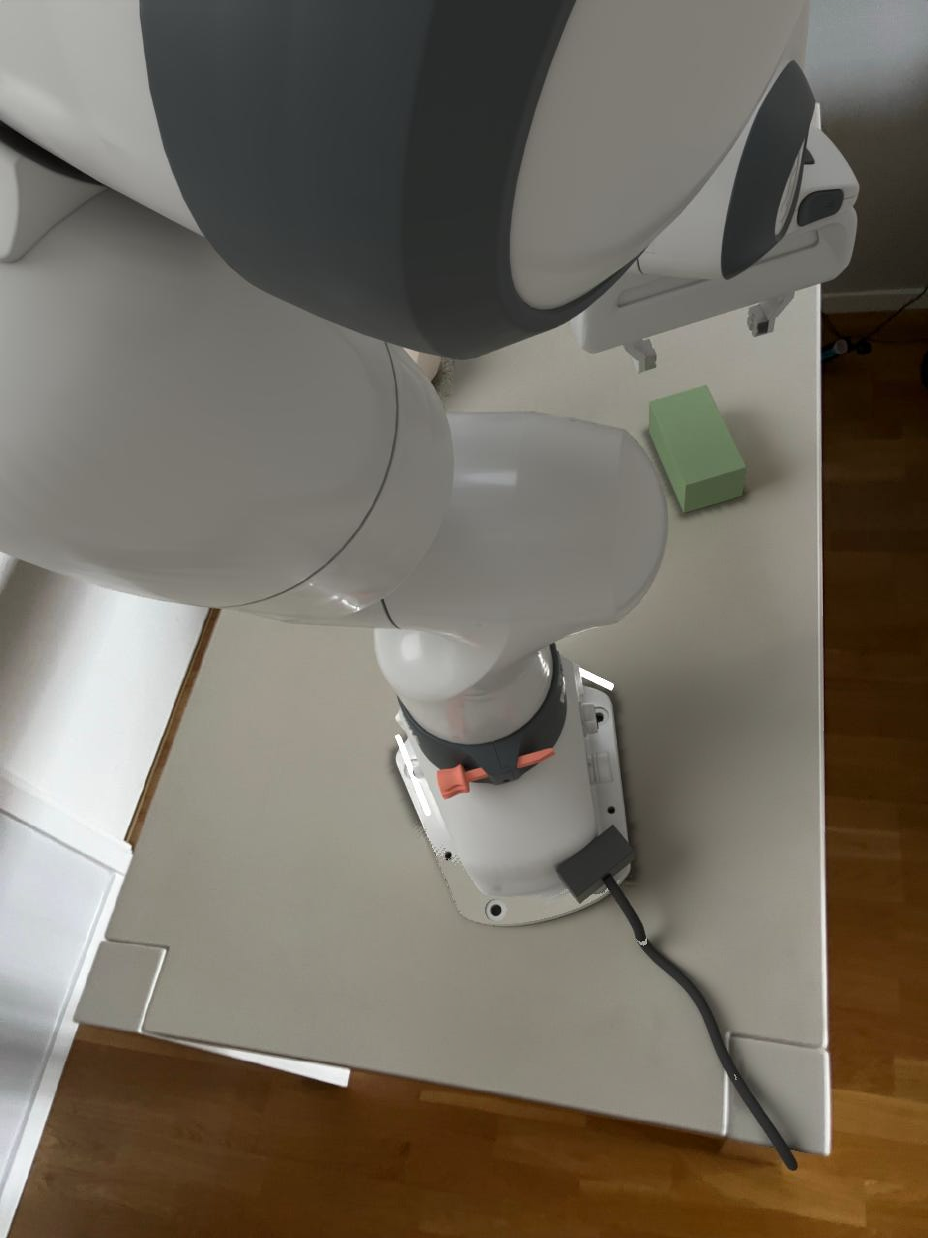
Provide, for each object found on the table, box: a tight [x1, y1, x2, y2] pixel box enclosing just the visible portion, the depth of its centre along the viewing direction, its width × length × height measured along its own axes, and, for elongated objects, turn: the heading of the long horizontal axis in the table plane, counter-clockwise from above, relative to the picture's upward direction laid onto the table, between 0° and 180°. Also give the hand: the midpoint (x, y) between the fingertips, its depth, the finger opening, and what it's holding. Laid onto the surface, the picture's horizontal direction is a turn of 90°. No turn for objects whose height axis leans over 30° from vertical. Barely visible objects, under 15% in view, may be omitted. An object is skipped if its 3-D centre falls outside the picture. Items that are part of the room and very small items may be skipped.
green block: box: [648, 384, 747, 514], centre depth 81 cm, size 10×6×4 cm, turn 13°
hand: (701, 347), depth 69 cm, fingers open, 8 cm apart
